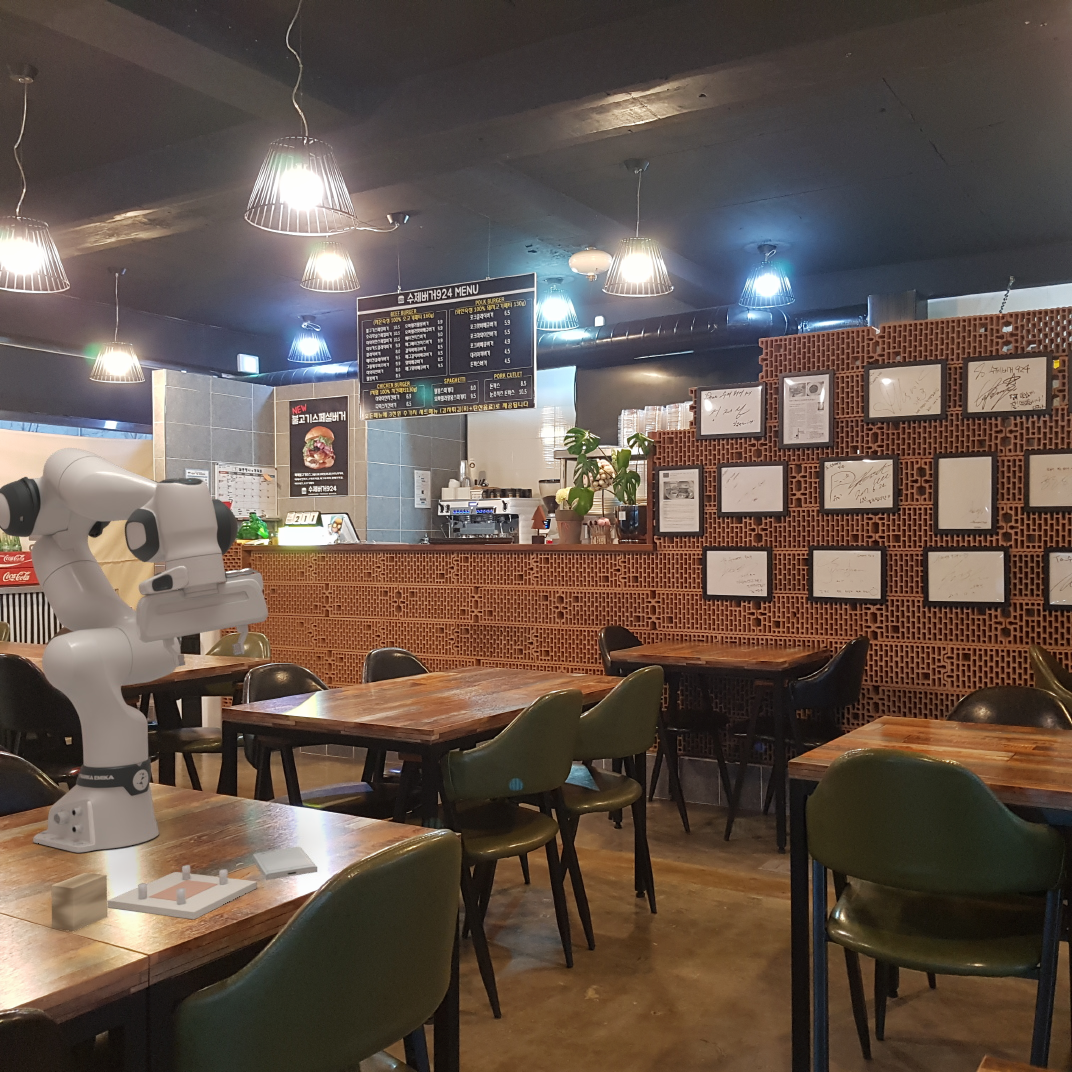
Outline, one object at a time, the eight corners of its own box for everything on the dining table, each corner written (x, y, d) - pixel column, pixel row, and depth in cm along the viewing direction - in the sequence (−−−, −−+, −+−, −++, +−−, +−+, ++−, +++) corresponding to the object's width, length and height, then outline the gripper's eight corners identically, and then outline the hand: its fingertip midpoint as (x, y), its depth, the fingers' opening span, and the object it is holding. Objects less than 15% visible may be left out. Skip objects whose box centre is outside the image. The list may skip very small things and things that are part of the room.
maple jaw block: (52, 928, 139) (51, 885, 139) (86, 914, 145) (85, 872, 145) (73, 932, 138) (72, 888, 138) (107, 917, 143) (106, 875, 143)
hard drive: (252, 853, 169) (265, 873, 158) (300, 846, 173) (317, 864, 162) (252, 863, 169) (266, 883, 158) (301, 855, 173) (317, 875, 162)
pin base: (107, 907, 147) (107, 886, 147) (175, 878, 160) (174, 859, 160) (194, 919, 141) (193, 898, 141) (257, 888, 154) (256, 868, 154)
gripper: (255, 567, 170) (268, 647, 169) (128, 586, 159) (141, 672, 159) (265, 564, 164) (278, 648, 164) (133, 584, 154) (147, 673, 154)
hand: (210, 660), depth 162 cm, fingers open, 8 cm apart
